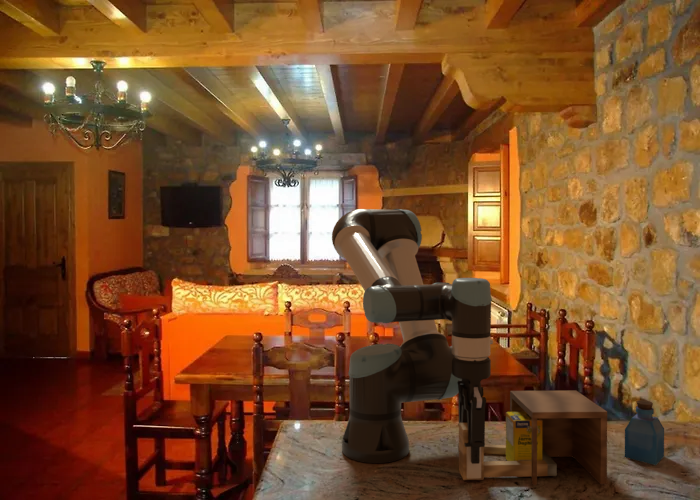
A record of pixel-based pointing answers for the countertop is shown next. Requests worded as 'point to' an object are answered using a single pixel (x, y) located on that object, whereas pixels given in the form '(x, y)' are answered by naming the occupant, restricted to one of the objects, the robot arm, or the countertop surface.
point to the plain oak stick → (493, 449)
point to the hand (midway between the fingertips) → (470, 472)
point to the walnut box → (566, 428)
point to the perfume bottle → (644, 435)
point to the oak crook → (502, 463)
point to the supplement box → (521, 437)
